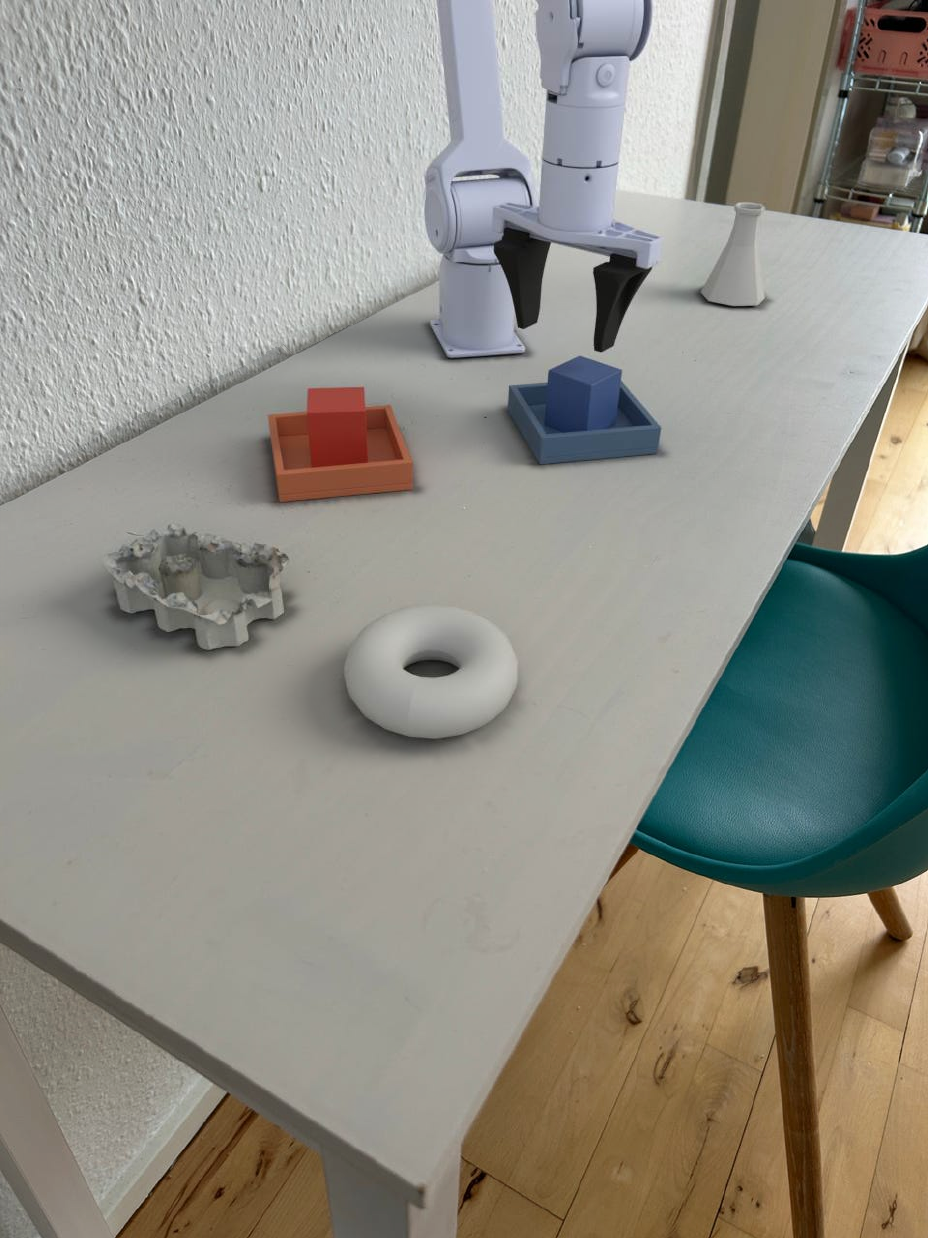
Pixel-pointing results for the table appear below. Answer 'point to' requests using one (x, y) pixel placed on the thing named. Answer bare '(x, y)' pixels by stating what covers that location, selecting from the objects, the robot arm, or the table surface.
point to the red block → (337, 426)
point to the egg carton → (199, 583)
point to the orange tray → (303, 482)
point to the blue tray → (552, 446)
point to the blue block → (582, 395)
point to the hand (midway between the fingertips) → (564, 336)
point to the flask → (739, 262)
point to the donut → (423, 699)
